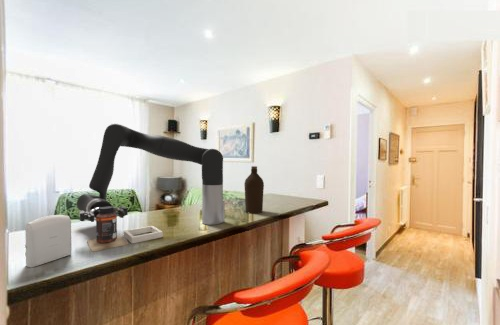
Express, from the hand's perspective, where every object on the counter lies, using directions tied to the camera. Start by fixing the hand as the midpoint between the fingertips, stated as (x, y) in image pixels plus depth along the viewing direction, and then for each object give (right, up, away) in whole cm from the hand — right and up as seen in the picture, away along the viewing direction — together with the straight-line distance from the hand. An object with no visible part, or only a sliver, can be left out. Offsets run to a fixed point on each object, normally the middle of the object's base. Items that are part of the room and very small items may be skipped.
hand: (108, 216), depth 80 cm
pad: (-1, -9, +1) cm, 9 cm away
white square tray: (+8, -9, +9) cm, 15 cm away
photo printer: (-9, -10, -12) cm, 18 cm away
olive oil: (+49, -9, +53) cm, 73 cm away
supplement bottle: (-1, -9, +1) cm, 9 cm away
